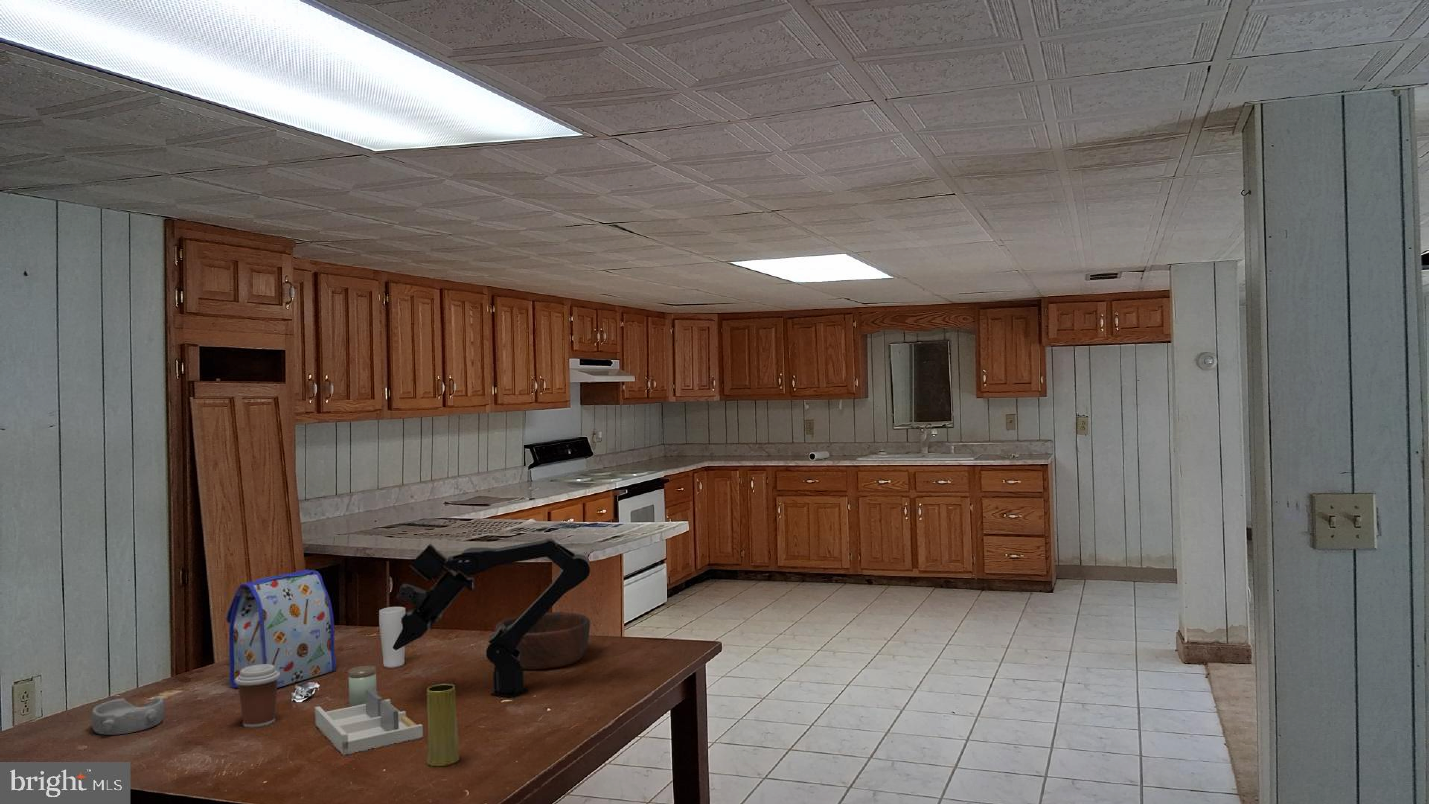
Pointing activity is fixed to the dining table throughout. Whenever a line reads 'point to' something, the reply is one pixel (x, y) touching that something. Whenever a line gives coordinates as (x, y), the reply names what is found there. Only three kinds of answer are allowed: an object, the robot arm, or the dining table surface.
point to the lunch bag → (282, 627)
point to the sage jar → (361, 684)
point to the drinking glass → (391, 635)
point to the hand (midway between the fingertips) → (398, 644)
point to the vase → (442, 725)
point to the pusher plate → (372, 703)
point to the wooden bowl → (553, 640)
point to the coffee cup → (258, 694)
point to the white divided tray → (366, 727)
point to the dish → (126, 716)
